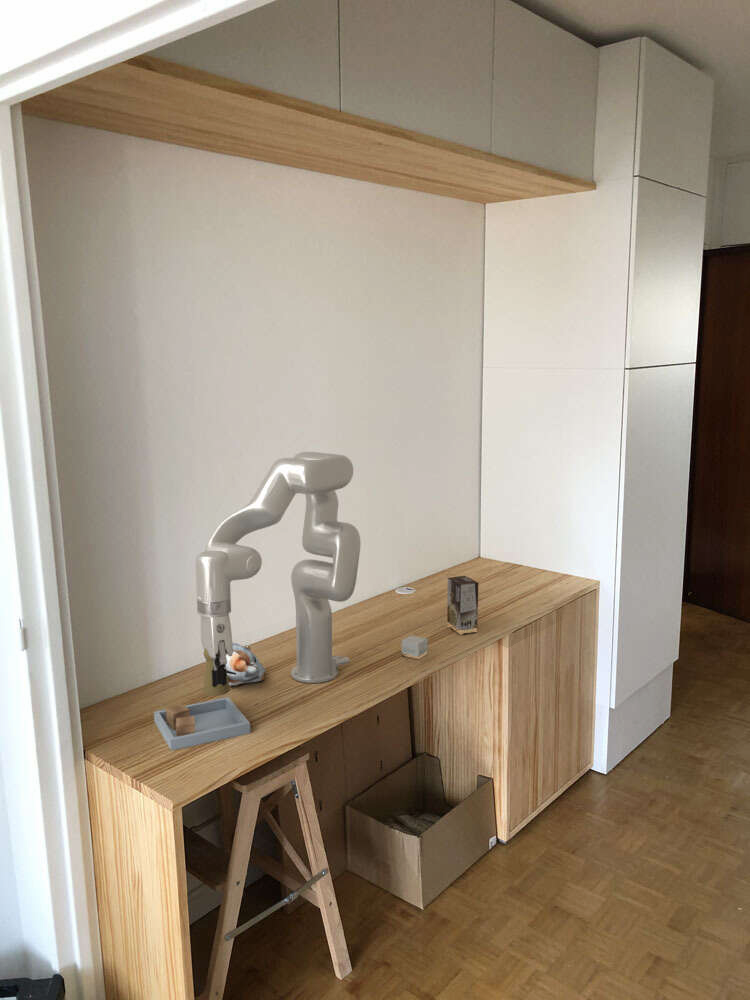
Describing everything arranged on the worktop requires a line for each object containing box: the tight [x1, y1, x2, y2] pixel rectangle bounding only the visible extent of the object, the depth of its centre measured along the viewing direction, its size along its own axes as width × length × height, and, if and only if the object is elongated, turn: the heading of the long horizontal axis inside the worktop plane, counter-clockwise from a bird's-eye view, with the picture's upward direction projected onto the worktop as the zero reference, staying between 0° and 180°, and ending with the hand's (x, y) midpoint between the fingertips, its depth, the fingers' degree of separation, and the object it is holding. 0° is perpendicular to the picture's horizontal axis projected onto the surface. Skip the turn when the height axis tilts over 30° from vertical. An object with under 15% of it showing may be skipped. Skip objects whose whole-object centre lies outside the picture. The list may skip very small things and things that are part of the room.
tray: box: [153, 696, 251, 752], centre depth 191 cm, size 18×16×3 cm
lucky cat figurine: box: [226, 642, 267, 687], centre depth 217 cm, size 15×12×14 cm
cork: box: [202, 648, 231, 697], centre depth 190 cm, size 6×6×11 cm
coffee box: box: [446, 575, 479, 630], centre depth 257 cm, size 9×6×16 cm
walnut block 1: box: [165, 703, 190, 730], centre depth 192 cm, size 4×4×4 cm
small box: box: [401, 635, 429, 657], centre depth 237 cm, size 6×6×5 cm
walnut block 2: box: [176, 716, 195, 737], centre depth 186 cm, size 4×4×4 cm
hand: (216, 681), depth 191 cm, fingers closed on cork, 3 cm apart
